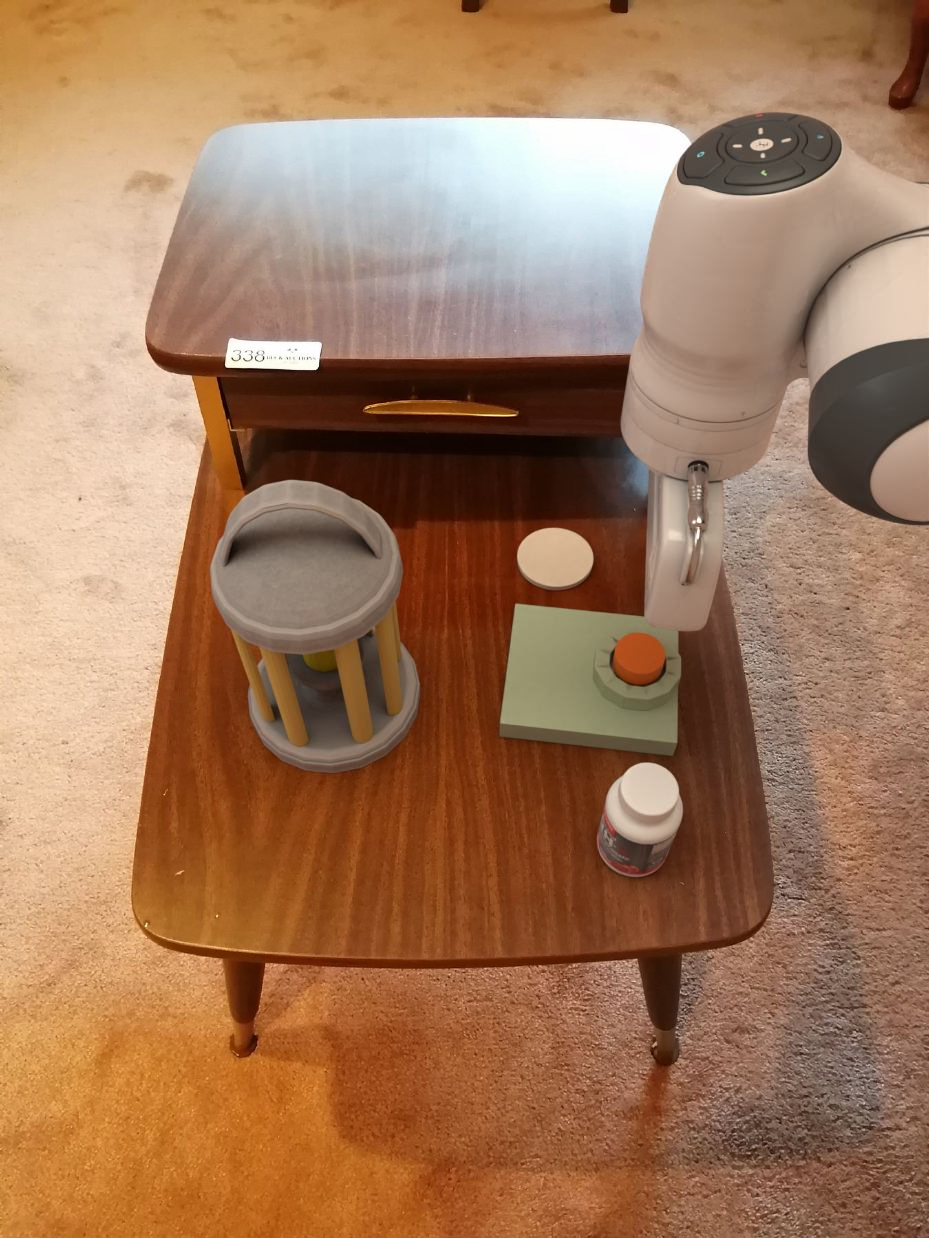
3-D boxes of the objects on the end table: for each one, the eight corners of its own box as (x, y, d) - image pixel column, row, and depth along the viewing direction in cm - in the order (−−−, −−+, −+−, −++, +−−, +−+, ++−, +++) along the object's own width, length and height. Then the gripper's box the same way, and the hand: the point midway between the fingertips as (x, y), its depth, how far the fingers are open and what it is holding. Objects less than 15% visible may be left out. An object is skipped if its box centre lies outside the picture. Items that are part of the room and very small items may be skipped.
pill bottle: (581, 845, 75) (593, 788, 67) (626, 798, 77) (643, 737, 69) (637, 894, 72) (657, 840, 64) (682, 844, 74) (706, 786, 67)
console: (674, 634, 86) (682, 607, 83) (673, 756, 79) (681, 731, 76) (514, 618, 87) (516, 590, 84) (499, 736, 80) (500, 711, 77)
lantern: (418, 623, 87) (399, 408, 66) (423, 768, 78) (403, 572, 58) (256, 632, 86) (188, 418, 66) (244, 778, 78) (162, 584, 58)
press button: (662, 647, 81) (666, 634, 79) (661, 688, 78) (665, 676, 77) (613, 642, 81) (616, 629, 80) (611, 682, 79) (613, 671, 77)
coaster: (595, 535, 93) (595, 531, 92) (590, 594, 89) (591, 590, 88) (520, 528, 93) (521, 524, 93) (513, 586, 89) (513, 582, 89)
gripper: (761, 549, 51) (710, 689, 63) (747, 305, 63) (707, 460, 74) (639, 537, 52) (611, 678, 63) (648, 298, 64) (623, 452, 75)
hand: (663, 558), depth 69 cm, fingers open, 4 cm apart
